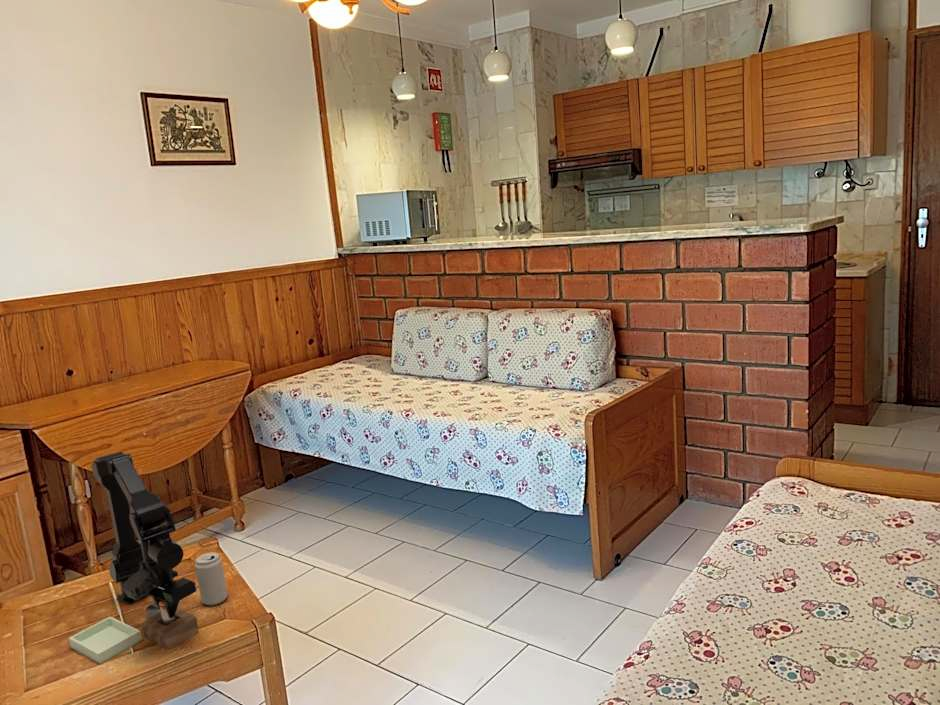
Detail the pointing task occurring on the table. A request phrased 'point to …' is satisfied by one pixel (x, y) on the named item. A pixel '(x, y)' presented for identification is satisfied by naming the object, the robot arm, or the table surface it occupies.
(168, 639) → the block
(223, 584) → the beverage can
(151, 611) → the dark grey knobbed lid
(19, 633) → the table surface
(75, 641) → the tray
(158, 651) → the table surface
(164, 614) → the pin
